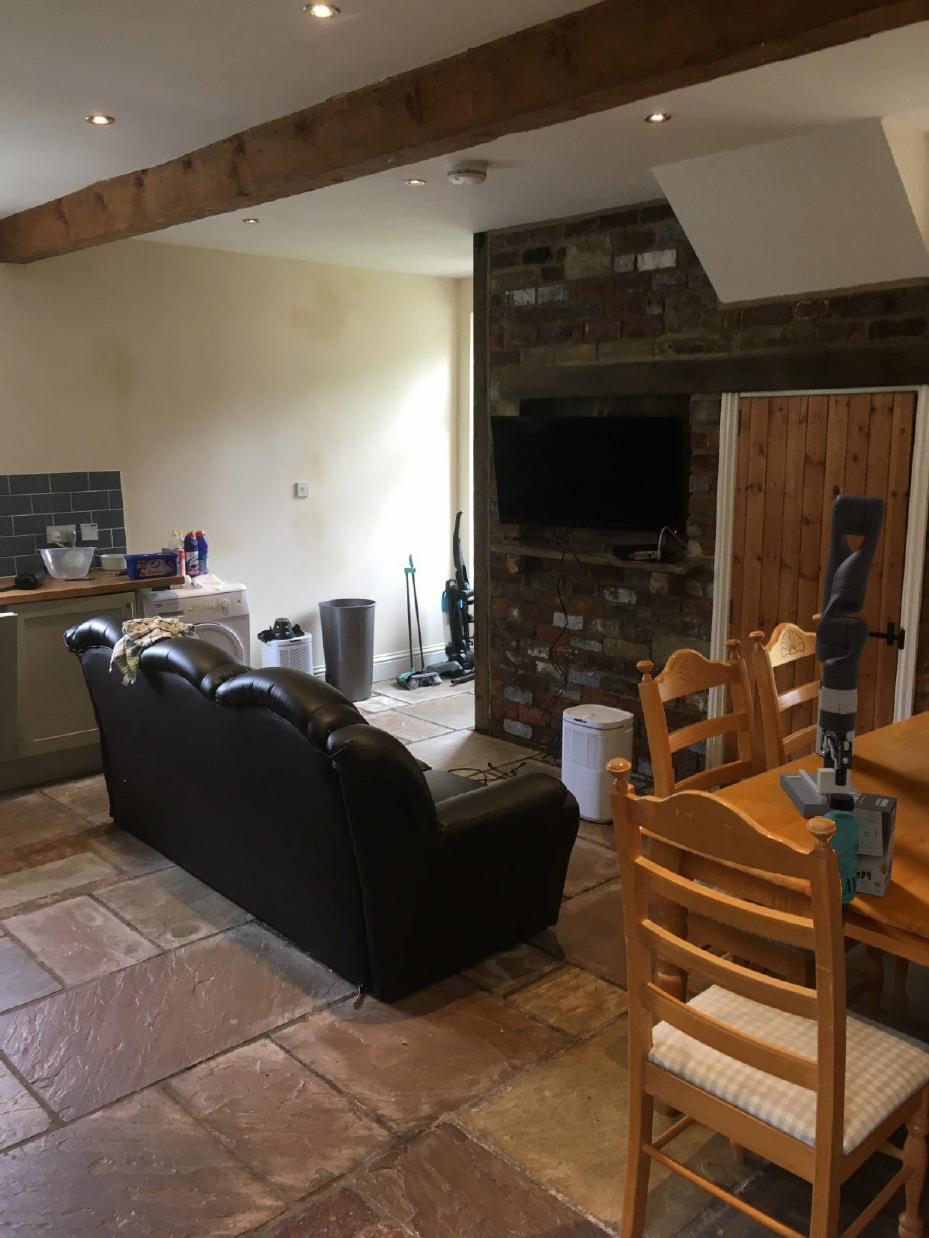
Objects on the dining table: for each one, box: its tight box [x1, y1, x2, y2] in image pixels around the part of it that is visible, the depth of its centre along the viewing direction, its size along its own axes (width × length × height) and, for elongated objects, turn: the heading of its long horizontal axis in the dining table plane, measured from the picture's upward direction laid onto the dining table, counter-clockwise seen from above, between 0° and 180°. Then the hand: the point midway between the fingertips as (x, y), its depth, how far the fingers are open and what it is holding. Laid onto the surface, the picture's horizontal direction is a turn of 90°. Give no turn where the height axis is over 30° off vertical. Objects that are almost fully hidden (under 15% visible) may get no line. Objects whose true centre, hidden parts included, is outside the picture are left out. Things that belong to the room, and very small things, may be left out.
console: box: [779, 768, 862, 818], centre depth 226 cm, size 21×14×4 cm, turn 176°
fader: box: [816, 767, 852, 801], centre depth 219 cm, size 3×6×6 cm, turn 86°
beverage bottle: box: [821, 793, 860, 904], centre depth 175 cm, size 6×7×20 cm
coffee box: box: [853, 792, 898, 897], centre depth 182 cm, size 9×6×16 cm
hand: (834, 778), depth 218 cm, fingers open, 8 cm apart
